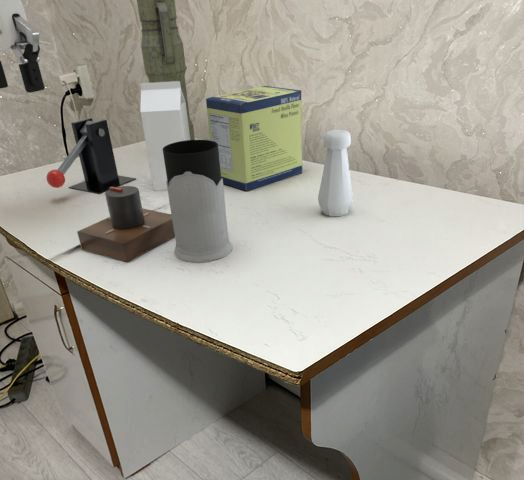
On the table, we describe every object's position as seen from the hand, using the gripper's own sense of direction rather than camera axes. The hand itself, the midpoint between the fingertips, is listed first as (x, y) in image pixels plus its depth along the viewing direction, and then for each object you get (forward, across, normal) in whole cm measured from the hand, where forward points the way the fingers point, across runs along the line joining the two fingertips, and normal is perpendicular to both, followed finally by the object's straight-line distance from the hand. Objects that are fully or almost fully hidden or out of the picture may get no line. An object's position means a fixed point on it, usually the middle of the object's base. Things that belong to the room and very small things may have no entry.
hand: (17, 89), depth 88 cm
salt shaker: (+20, +48, +21) cm, 56 cm away
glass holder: (+20, +36, +1) cm, 41 cm away
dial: (+17, +25, -4) cm, 31 cm away
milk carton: (+20, +14, +19) cm, 31 cm away
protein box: (+20, +25, +32) cm, 45 cm away
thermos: (+20, -2, +38) cm, 43 cm away
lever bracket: (+20, 0, +13) cm, 24 cm away
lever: (+14, 0, +9) cm, 16 cm away
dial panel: (+20, +25, -4) cm, 32 cm away
